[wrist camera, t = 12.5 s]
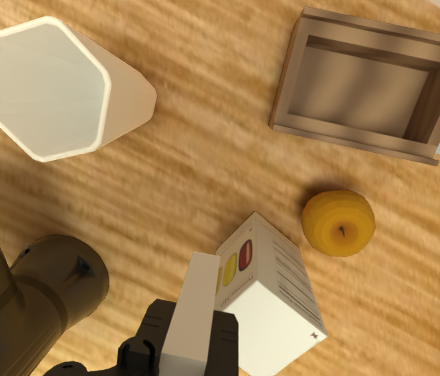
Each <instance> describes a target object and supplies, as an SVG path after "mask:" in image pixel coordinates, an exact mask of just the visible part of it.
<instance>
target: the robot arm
mask: <svg viewBox="0 0 440 376" xmlns="http://www.w3.org/2000/svg"><path fill="white" fill-rule="evenodd" d="M219 263H220V256H216V255H211V254H206V253H201V252H196V251H193V254H192V257H191V260H190V264H189V267H188V270H187V273H186V276H185V279H184V282H183V286H182V289H181V292H180V295H179V298H178V301H177V303H175V302H170V301H165V300H161V299H156V300H155V301H154V302H153V303H152V304H151V305H149V307H148V309H147V311H146V314H145V316H144V318H143V320H142V322H141V325H140V327H139V329H138V331H137V333H136V336H135V337H131V338H129V339H127V340H126V341H124V342H123V343H122V344H121V346H120V347H119V348H118V357H117V365H116V366H114V367H111V368H109V369H105V370H99V371H90V372H87V369H86V367H85V366H84V365H82V364H81V363H79V362H75V361H70V362H63V363H61V364H58V365H56V366H54V367H53V368H51V369H50V370H49V371H47V372H46V373H45V374H44V375H43V376H239V375H238V372H239V344H238V342H239V335H238V334H239V323H238V321H237V319H236V317H235V315H234V314H232V313H227V312H223V311H218V310H214V302H215V294H216V286H217V278H218V271H219ZM108 287H109V278H108V273H107V270H106V267H105V265H104V263H103V262H102V260H101V259H100V257H99V256H98V255H97V254H96V253H95V252H94V251H93V250H92V249H91V248H90V247H89V246H87V245H86V244H84V243H83V242H81V241H79V240H77V239H74V238H71V237H68V236H62V235H51V236H46V237H43V238H41V239H39V240H37V241H36V242H34V243H33V244H31V245H29V246H28V247H27V248H25V249H24V250H23V251H22V252H21V253H20V255H19V256H18V258H17V259H16V260H15V262H14V263H13V264H12V266H11V267H10V268H9V266H8V264H7V262H6V260H5V257H4V255H3V253H2V250H1V248H0V376H30V374H31V373H32V372H33V371H34V369H35V368H36V367H37V366H38V364H39V363H40V362H41V361H42V359H43V358H44V357H45V355H46V354H47V353H48V352H49V350H50V349H51V348H52V347H53V345H54V344H55V343H56V341H57V340H58V339H59V338H60V336H61V335H62V334H63V333H64V332H65V331H66V330H67V329H69V328H70V327H72V326H73V325H75V324H76V323H78V322H79V321H81V320H82V319H84V318H85V317H87V316H89V315H90V314H92V313H93V312H94V311H95V310H96V309H97V308H98V306H99V305H100V304H101V302H102V301H103V300H104V298H105V296H106V294H107V291H108Z"/></svg>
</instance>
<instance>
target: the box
mask: <svg viewBox="0 0 440 376" xmlns="http://www.w3.org/2000/svg"><path fill="white" fill-rule="evenodd" d="M268 126H269V127H270V128H271V129H272V130H275V131H280V132H284V133H289V134H293V135H298V136H302V137H307V138H311V139H316V140H320V141H325V142H329V143H334V144H338V145H343V146H347V147H352V148H356V149H361V150H365V151H370V152H374V153H379V154H383V155H388V156H392V157H397V158H401V159H406V160H410V161H415V162H420V163H424V164H429V165H433V166H437V165H438V163H439V161H438V160H434V159H433V157H434V154H435V152H436V150H437V148H438V145H439V143H440V34H437V33H432V32H427V31H423V30H418V29H413V28H408V27H403V26H398V25H393V24H389V23H384V22H379V21H374V20H369V19H364V18H359V17H355V16H350V15H345V14H340V13H335V12H330V11H325V10H321V9H316V8H311V7H306V6H305V7H304V9H303V11H302V13H301V14H300V16H299V18H298V20H297V21H296V23H295V25H294V27H293V31H292V35H291V39H290V43H289V46H288V50H287V54H286V58H285V62H284V66H283V70H282V74H281V78H280V82H279V85H278V89H277V93H276V97H275V101H274V105H273V109H272V113H271V117H270V120H269V124H268Z"/></svg>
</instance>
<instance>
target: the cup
mask: <svg viewBox="0 0 440 376" xmlns="http://www.w3.org/2000/svg"><path fill="white" fill-rule="evenodd" d="M156 99H157V94H156V90H155V88H154V87H153V86H152V85H151V84H150V83H149V82H148V81H147V79H146V78H145V77H144V76H143V75H142V74H141V73H140V72H139V71H137V70H136V69H134V68H133V67H131V66H130V65H128V64H127V63H125V62H124V61H122V60H120V59H119V58H117V57H116V56H114V55H113V54H111V53H110V52H108V51H107V50H105V49H104V48H102V47H101V46H99V45H98V44H96V43H95V42H93V41H92V40H90V39H89V38H87V37H86V36H84V35H83V34H81V33H79V32H78V31H76V30H75V29H73V28H72V27H70V26H69V25H67V24H66V23H64V22H63V21H61V20H60V19H57V18H54V17H51V16H48V15H47V16H44V17H41V18H38V19H35V20H32V21H28V22H25V23H22V24H19V25H16V26H12V27H9V28H6V29H3V30H0V128H1V129H2V130H3V131H4V132H5V133H6V134H7V135H8V136H9V137H10V138H11V139H12V140H13V141H15V142H16V143H17V144H18V145H19V146H20V147H21V148H22V149H23V150H24V151H25V152H26V153H27V154H28V155H29V156H30V157H31V158H32V159H34V160H37V161H40V162H43V163H44V162H48V161H53V160H57V159H62V158H66V157H71V156H75V155H80V154H84V153H89V152H93V151H96V150H97V149H99V148H101V147H103V146H105V145H106V144H108V143H110V142H112V141H114V140H115V139H117V138H119V137H121V136H123V135H124V134H126V133H128V132H130V131H132V130H133V129H135V128H137V127H139V126H141V125H142V124H144V123H146V122H148V121H149V120H150V119H151V118H152V116H153V112H154V108H155V103H156Z"/></svg>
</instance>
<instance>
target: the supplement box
mask: <svg viewBox="0 0 440 376" xmlns="http://www.w3.org/2000/svg"><path fill="white" fill-rule="evenodd" d="M215 255H216V256H220V263H219V271H218V278H217V286H216V294H215V302H214V310H218V311H223V312H227V313H232V314H234V315H235V317H236V319H237V321H238V323H239V334H238V335H239V342H238V344H239V367H240V368H241V369H243V370H244V371H245V372H247V373H248V374H249V375H251V376H274V375H275V374H277V373H278V372H279V371H281V370H282V369H283V368H284V367H286V366H287V365H288V364H290V363H291V362H292V361H294V360H295V359H296V358H298V357H299V356H300V355H302V354H303V353H305V352H306V351H308V350H309V349H310V348H312V347H313V346H315V345H316V344H318V343H319V342H321V341H322V340H324V339H325V338H327V333H326V329H325V326H324V324H323V320H322V317H321V314H320V311H319V308H318V305H317V302H316V299H315V296H314V293H313V290H312V287H311V284H310V281H309V278H308V275H307V272H306V269H305V266H304V263H303V260H302V257H301V253H300V250H299V248H298V247H297V246H296V245H295V244H294V243H292V242H291V241H290V240H289V239H288V238H287V237H285V236H284V235H283V234H282V233H281V232H279V231H278V230H277V229H276V228H275V227H273V226H272V225H271V224H270V223H269V222H268V221H266V220H265V219H264V218H263V217H262V216H260V215H259V214H258V213H257V212H254V213H253V214H252V215H251V216H250V217H249V218H248V219H247V220H246V221H245V222H244V223H243V224H242V225H241V226H240V227H239V228H238V229H237V230H236V231H235V232H234V233H233V234H232V235H231V236H230V237H229V238H228V239H227V240H226V241H225V242H224V243H223V244H222V245H221V246H220V247H219V248H218V249H217V250H216V254H215Z"/></svg>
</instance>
